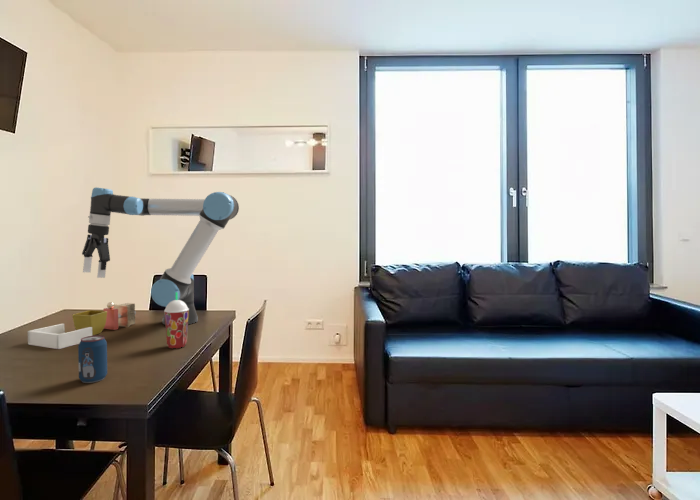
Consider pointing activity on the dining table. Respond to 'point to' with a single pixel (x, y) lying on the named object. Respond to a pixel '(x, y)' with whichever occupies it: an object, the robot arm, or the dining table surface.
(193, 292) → the robot arm
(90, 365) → the soda can
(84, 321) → the flower pot
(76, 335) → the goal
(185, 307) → the smoothie
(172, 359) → the dining table surface
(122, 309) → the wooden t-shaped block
